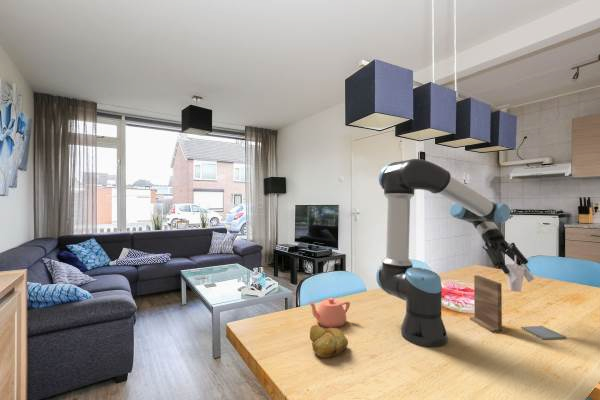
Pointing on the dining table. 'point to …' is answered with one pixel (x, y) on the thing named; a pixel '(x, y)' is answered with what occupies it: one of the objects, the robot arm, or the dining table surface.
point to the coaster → (543, 332)
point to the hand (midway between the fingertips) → (523, 280)
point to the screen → (488, 304)
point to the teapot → (330, 312)
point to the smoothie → (519, 274)
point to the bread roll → (327, 341)
